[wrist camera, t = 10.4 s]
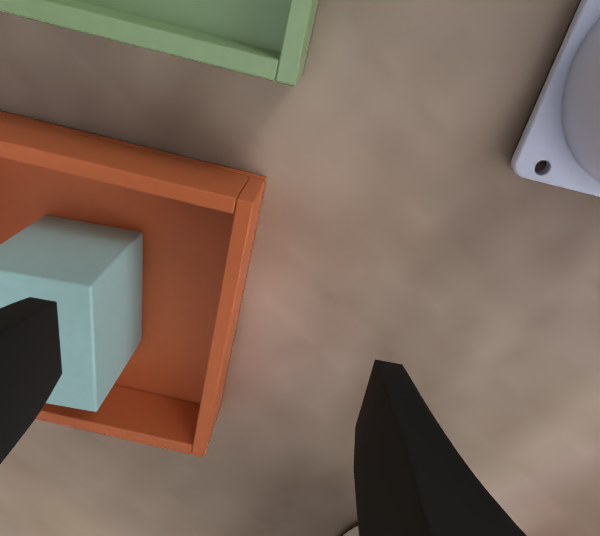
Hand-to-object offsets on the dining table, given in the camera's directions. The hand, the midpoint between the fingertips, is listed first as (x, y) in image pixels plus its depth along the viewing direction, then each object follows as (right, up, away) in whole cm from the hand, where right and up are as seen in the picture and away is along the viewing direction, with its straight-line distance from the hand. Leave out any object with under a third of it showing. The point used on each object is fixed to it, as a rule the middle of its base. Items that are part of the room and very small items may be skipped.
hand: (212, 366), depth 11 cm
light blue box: (-7, +2, +10) cm, 12 cm away
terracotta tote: (-7, +2, +10) cm, 12 cm away
